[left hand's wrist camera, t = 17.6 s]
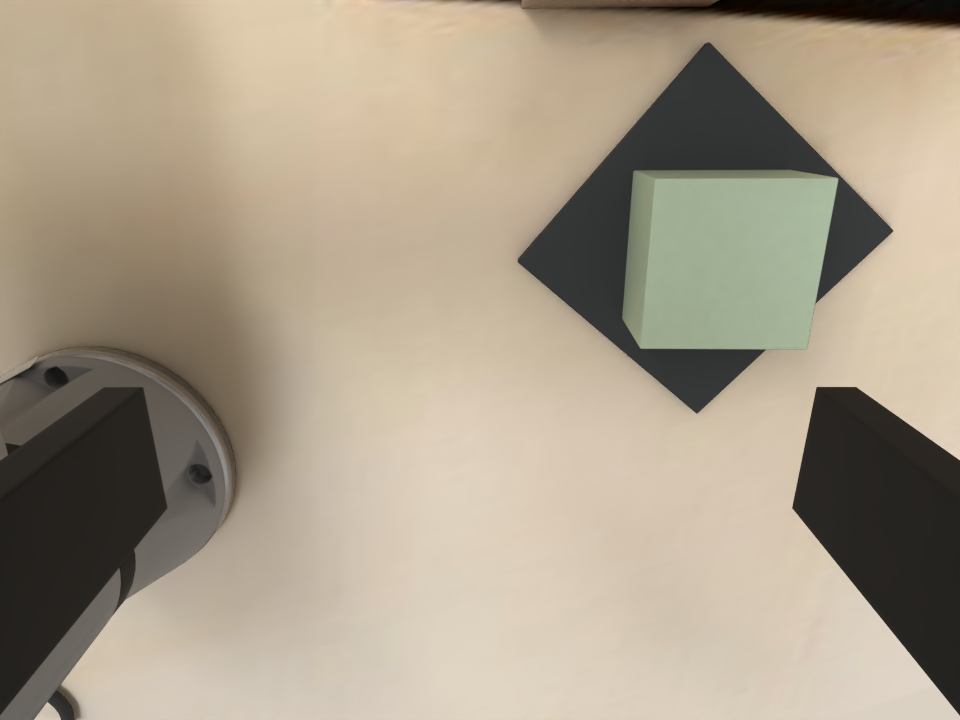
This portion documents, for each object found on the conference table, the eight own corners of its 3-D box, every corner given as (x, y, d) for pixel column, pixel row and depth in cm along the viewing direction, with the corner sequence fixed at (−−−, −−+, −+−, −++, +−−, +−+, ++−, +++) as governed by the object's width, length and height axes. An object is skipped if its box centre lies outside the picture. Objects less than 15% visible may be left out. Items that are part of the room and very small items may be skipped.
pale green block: (766, 319, 35) (807, 350, 31) (621, 319, 36) (639, 349, 31) (790, 169, 33) (839, 178, 28) (633, 170, 33) (655, 178, 28)
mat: (694, 409, 38) (697, 414, 37) (517, 259, 35) (517, 261, 35) (887, 229, 34) (894, 230, 33) (705, 43, 31) (709, 41, 31)
